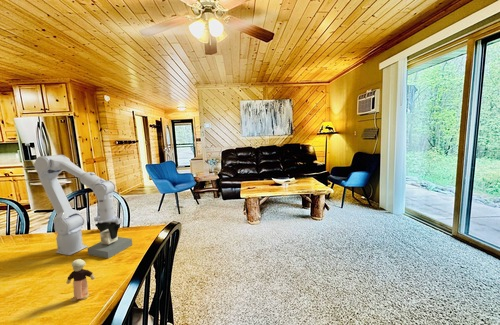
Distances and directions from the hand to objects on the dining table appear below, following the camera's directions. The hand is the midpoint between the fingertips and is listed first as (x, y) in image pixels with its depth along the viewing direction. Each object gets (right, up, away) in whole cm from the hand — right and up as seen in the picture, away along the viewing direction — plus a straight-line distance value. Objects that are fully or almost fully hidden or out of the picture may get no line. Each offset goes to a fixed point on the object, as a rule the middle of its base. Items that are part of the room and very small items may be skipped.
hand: (109, 237), depth 96 cm
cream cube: (0, -2, 0) cm, 2 cm away
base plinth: (0, -6, +1) cm, 6 cm away
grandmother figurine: (+11, -9, -29) cm, 32 cm away
